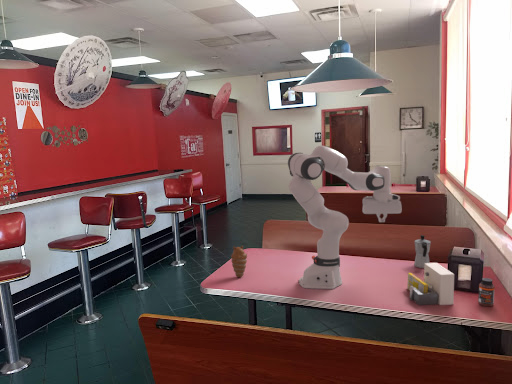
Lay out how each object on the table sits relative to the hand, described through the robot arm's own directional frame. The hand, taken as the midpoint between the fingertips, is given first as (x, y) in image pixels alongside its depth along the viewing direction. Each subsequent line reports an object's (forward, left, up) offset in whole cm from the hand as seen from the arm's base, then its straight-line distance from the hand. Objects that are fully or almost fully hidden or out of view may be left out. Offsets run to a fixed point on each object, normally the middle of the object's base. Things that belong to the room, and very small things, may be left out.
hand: (381, 222), depth 208 cm
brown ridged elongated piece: (-78, +7, -30) cm, 83 cm away
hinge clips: (+7, -34, -30) cm, 46 cm away
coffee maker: (+27, +11, -30) cm, 42 cm away
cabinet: (+15, -32, -30) cm, 46 cm away
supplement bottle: (+32, -41, -30) cm, 60 cm away
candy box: (+7, -28, -30) cm, 42 cm away
